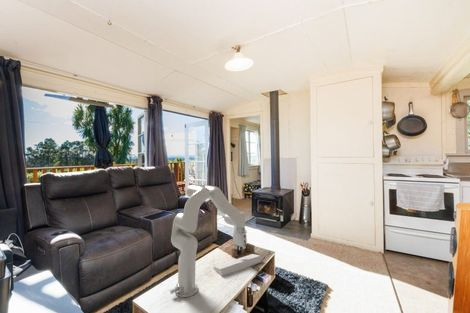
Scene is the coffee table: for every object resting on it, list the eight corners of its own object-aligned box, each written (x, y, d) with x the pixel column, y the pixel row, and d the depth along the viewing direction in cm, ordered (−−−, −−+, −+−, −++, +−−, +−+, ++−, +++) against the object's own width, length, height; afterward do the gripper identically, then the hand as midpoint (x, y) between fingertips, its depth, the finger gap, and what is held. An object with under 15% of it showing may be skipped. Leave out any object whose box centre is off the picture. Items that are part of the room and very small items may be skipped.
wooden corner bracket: (240, 260, 156) (240, 252, 156) (232, 256, 161) (232, 249, 161) (254, 252, 169) (254, 245, 169) (245, 249, 174) (246, 242, 174)
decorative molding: (214, 274, 143) (221, 277, 135) (213, 266, 144) (220, 268, 136) (253, 260, 162) (261, 262, 154) (252, 254, 163) (260, 255, 155)
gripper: (251, 230, 150) (250, 256, 150) (235, 225, 160) (234, 249, 160) (244, 233, 144) (243, 260, 145) (228, 228, 154) (227, 253, 155)
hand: (239, 254), depth 152 cm, fingers closed
